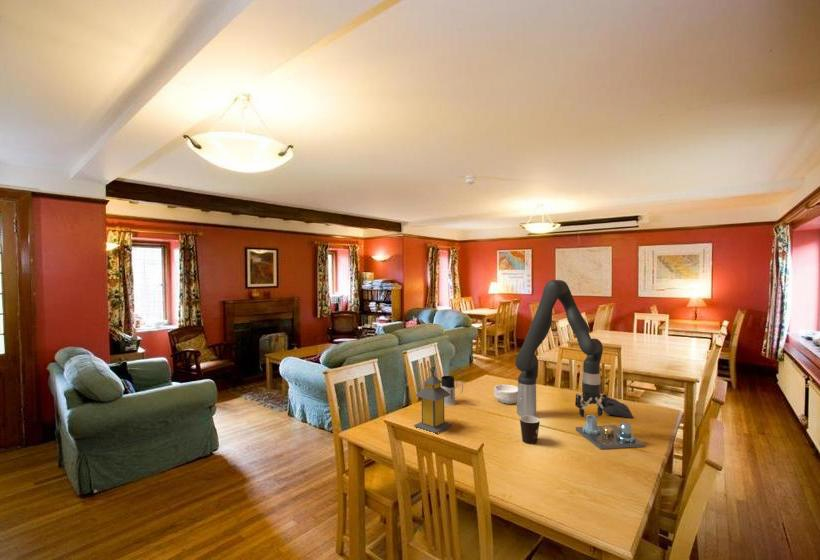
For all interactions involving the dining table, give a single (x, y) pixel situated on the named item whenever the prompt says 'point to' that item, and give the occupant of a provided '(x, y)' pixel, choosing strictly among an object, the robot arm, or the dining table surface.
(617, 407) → the dark slate chunk
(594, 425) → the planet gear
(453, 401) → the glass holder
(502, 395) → the paper bowls
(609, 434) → the gear carrier
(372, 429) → the dining table surface
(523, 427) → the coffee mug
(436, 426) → the lantern
